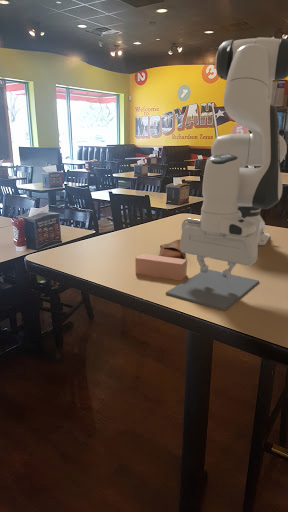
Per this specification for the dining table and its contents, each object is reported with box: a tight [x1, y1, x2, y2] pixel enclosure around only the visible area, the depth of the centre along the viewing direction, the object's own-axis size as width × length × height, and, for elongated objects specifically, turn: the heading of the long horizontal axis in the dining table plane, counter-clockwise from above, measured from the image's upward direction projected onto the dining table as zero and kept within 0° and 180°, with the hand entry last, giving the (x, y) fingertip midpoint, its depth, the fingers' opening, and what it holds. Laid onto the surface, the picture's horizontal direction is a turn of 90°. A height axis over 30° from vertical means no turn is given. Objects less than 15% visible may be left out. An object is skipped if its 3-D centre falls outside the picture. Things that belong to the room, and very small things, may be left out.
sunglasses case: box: [158, 239, 186, 259], centre depth 124 cm, size 18×7×7 cm
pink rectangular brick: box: [135, 253, 188, 281], centre depth 109 cm, size 4×14×5 cm, turn 67°
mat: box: [165, 268, 260, 312], centre depth 99 cm, size 22×16×1 cm
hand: (215, 274), depth 98 cm, fingers open, 5 cm apart
